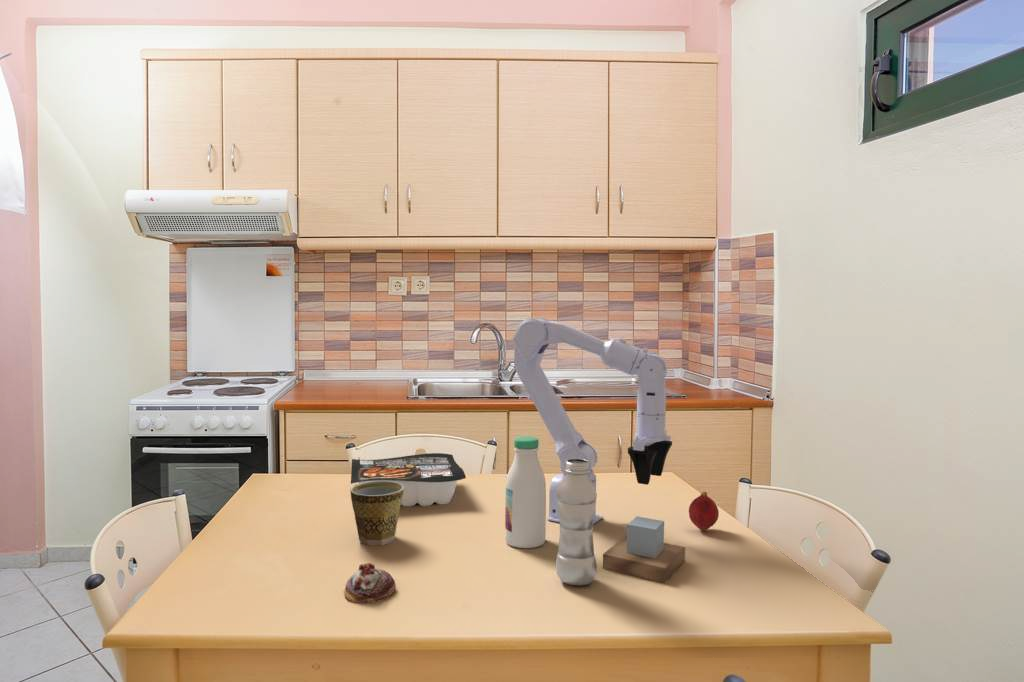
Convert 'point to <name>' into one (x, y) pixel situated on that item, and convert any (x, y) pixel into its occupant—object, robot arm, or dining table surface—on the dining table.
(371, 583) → the pastry
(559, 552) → the plastic bottle
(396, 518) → the ceramic cup
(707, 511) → the onion
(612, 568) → the base
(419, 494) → the food packaging
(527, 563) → the dining table surface
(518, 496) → the milk bottle
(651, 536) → the cube
